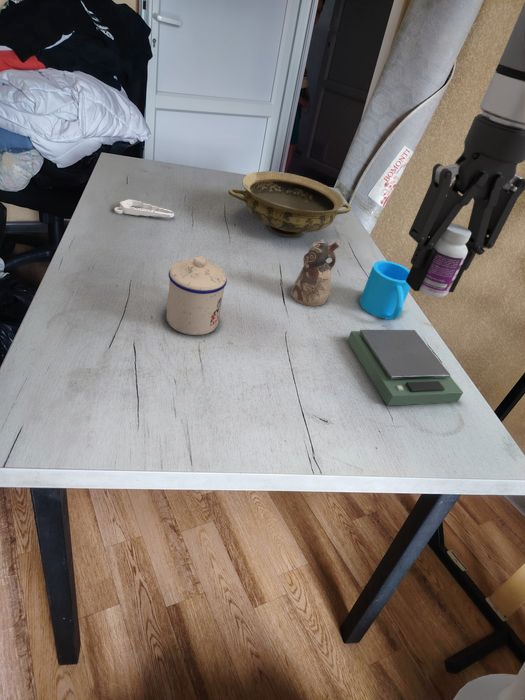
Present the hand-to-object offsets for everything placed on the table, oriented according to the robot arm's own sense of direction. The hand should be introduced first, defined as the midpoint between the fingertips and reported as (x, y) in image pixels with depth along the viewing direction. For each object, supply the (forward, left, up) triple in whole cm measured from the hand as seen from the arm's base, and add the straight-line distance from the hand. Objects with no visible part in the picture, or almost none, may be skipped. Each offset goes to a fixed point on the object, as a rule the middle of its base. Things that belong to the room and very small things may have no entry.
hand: (429, 286), depth 71 cm
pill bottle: (0, 0, 0) cm, 1 cm away
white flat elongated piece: (+54, +37, -16) cm, 67 cm away
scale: (-1, -1, -16) cm, 16 cm away
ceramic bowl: (+51, +4, -16) cm, 54 cm away
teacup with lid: (+14, +32, -16) cm, 38 cm away
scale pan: (0, -1, -13) cm, 13 cm away
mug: (+16, -6, -16) cm, 24 cm away
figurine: (+21, +8, -16) cm, 28 cm away
